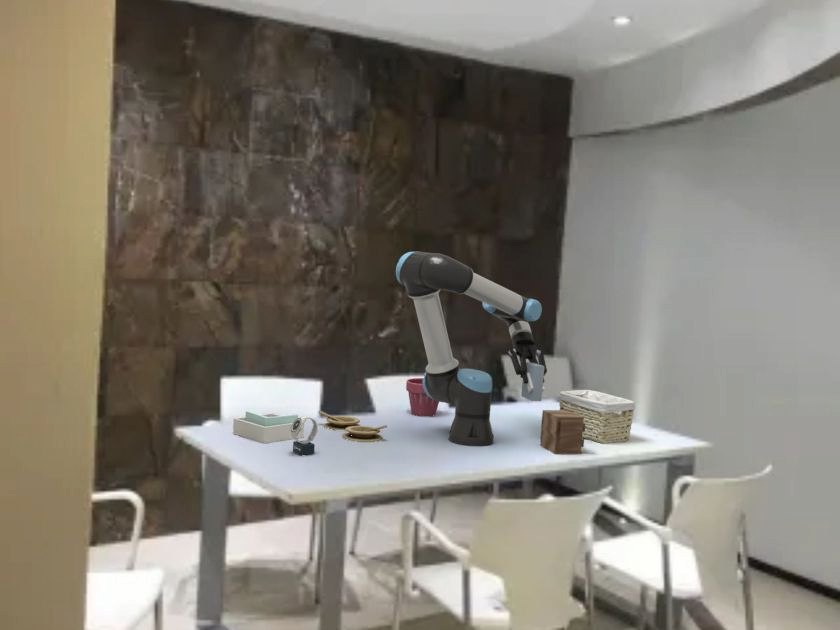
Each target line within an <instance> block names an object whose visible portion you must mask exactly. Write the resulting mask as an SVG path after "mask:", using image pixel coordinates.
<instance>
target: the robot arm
mask: <svg viewBox="0 0 840 630" xmlns="http://www.w3.org/2000/svg"><path fill="white" fill-rule="evenodd" d="M395 276H396V280H397V282H398V283H399V284H401V285H402V286H404V287H405V290H406V293H407V296H408V297H409V298H410V299H412V300H413V304H414V307H415V311H416V315H417V320H418V325H419V329H420V333H421V336H422V342H423V345H424V350H425V354H426V358H427V363H428V364H427V365H426V366H425V372H424V373H423V376H424V377H423V388H424V391H425V393H426V394H427V395H428V396H429V397H430V398H432V399H434V400H436V401H438V402H439V403H445V404H449V405H452V406H455V407H454V409H455V410H454V411H455V412H454V418H453V421H452V424H451V426H450V428H449V431H448V437H447V439H448V441H449V442H452V443H455V444H458V445H464V446H475V447H477V446H478V447H480V446H488V445H492V444H493V443H494V439H495V437H494V432H493V428H492V424H491V419H490V418H491V416H490V415H491V405H492V393H493V378H492V376H491V375H490V374H489V373H487V372H486V371H482V370H478V369H475V368H461V367H460V362H459V360H458V359H456V358H455V357H454V356H453V352H452V347H451V343H450V339H449V335H448V331H447V326H446V321H445V317H444V312H443V308H442V305H441V304H442V303H441V299H440V296H439V294H440V292H441V291H447V292H452V293H455V294H456V295H463V294H464V295H466V296H468V297H471V298H473V299H475V300H477V301H480V302H482V307H483V309H484V310H485V311H487V312H488V313H489V314H491V315H493V316H494V317H497V318H498V319H499V320H502V321H503V322H505V323H506V325H507V327H508V328H507V329H508V331H509V335H510V340H511V343H512V347H513V348H509V350H508V352H507V355H508V356H509V358H510V361H511V363H512V365H513V369H514V372H515V374H516V375H517V376H520V378H521V379H522V382H523V381H524V383H525V384H526V385H527V389H528V392H529V393H531V391H532V390H533V385H532V381H531V378H530V374H529V373H526V372H527V368H526V362H527V360H528V362H531V363H536V364H539V365H542V366H544V377H545V376H546V375H547V372H548V369H547V366H546V360H545V356H544V355H545V350H544V349H541V350H539V349H537V347H536V345H535V340H534V337H533V334H532V330H531V329H532V328H531V326H530V323H529V322H535V321H537V320H539V319H540V317H541V315H542V311H543V309H542V304H541V303H540V301H538V300H537V299H533V298H527V297H525V296H523V295H520V294H518V293H517V292H514V291H512V290H510V289H508V288H506V287H504V286H502V285H500V284H499V283H495V282H494V281H492V280H490V279H487V278H485V277H484V276H482V275H480V274H478V273H475V272H474V271H473V269H472V268H471V267H470V266H468V265H466V264H464V263H462V262H460V261H458V260H456V259H454V258H452V257H450V256H448V255H445V254H442V253H439V252H438V253H437V252H436V253H434V252H424V251H419V250H417V251H409V252H406V253H404V254H403V255H401V257H400V258H399V259H398V262H397V264H396V267H395ZM518 357H519V358H518ZM544 377H543V387H542V393H543V392H544V391H545V389H546V387H545V385H544V383H545V378H544Z"/></svg>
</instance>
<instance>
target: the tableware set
mask: <svg viewBox="0 0 840 630" xmlns="http://www.w3.org/2000/svg"><path fill="white" fill-rule="evenodd" d="M318 414H320V415H322V416H325V417H326V423H324V424H323V428H325V427H326V428H325V429H327V428H329V429H328V430H330V429H334V430H333V431H336V430H346V431H345V433H343V434H342V435H341V437H343V438H342V439H344V438H345V439H344V440H346V439H348V440H347V441H350V440H351V442H355V441H357V442H356V443H375V441H377V442H381V441H383V440H382V439H384V437H383V435H381V434H379V433H381V429H382V430H383V429H385V428H388V425H381V426H378V427H375V426H370V425H369V426H367V425H361V424H360V422H361V420H360V419H359V418H357V417H354V416H348V415H347V416H346V415H331V414H328V413H326V412H324V411H322V410H319V411H318ZM351 435H352V437H351ZM380 440H381V441H380Z"/></svg>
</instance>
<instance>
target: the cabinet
mask: <svg viewBox="0 0 840 630" xmlns="http://www.w3.org/2000/svg"><path fill="white" fill-rule="evenodd" d="M541 414H542V417H541V427H540V441H539V446H540V447H542V448H544V449H545V450H547V451H549V452H551V453H553V454H554V455H581V454H582V448H584V446H585V438H583V437H582V433H583V432H585V424H583V421H584V417H581V416H579V415H577V414H575V413H572V412H570V411H568V410H560V409H542V413H541Z"/></svg>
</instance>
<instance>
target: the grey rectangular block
mask: <svg viewBox="0 0 840 630" xmlns="http://www.w3.org/2000/svg"><path fill="white" fill-rule="evenodd" d="M526 368H527V372H526V373H529V374H530V378H531V381H532V385H533V390H532V391H531V393H529V392H528V389H527V385H526V384H525V383H524V381H523V380H522V386H521V397H522V398H525V399H527V400H528V401H529V400H530V401H531V402H542V398H543V397H542V395H543V392H542V387H543V384H544V383H543V377H545V376H544V366H542V365H539V364H536V363H531V362H529V361H528V362H527V361H526Z"/></svg>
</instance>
